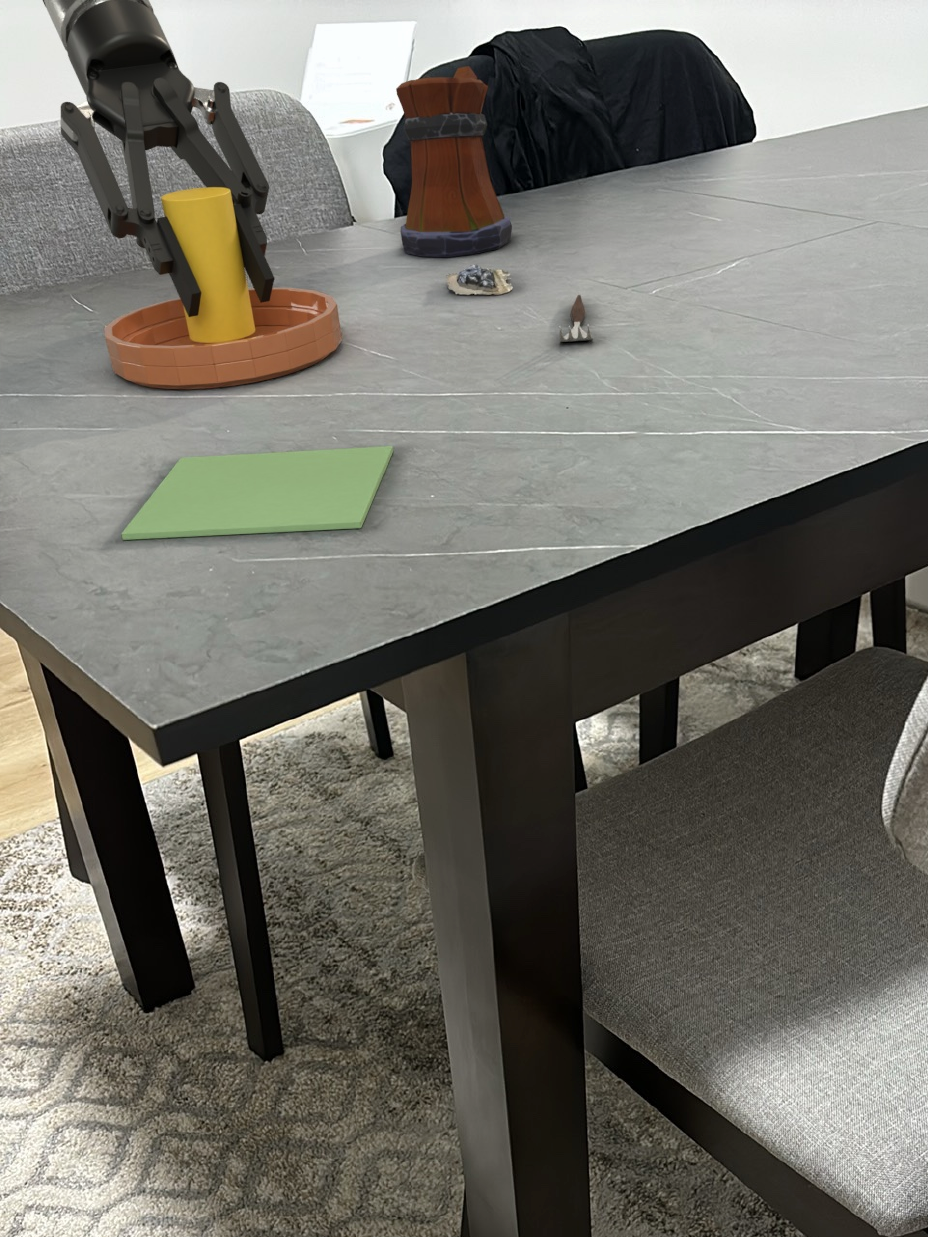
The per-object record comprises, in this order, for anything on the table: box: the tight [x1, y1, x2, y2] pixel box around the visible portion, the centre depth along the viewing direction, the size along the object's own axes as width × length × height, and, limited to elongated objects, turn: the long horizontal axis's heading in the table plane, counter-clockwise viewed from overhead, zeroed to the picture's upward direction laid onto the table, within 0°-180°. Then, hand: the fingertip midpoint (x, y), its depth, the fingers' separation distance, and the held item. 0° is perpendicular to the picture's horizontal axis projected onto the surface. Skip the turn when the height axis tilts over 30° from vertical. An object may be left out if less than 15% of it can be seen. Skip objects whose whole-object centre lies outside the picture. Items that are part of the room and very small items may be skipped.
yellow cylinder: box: [160, 186, 255, 343], centre depth 104 cm, size 5×5×10 cm
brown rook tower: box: [395, 66, 513, 258], centre depth 134 cm, size 18×12×15 cm, turn 171°
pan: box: [104, 287, 343, 390], centre depth 107 cm, size 18×18×3 cm
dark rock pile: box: [445, 263, 514, 296], centre depth 120 cm, size 7×8×2 cm
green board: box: [121, 445, 394, 541], centre depth 81 cm, size 14×13×1 cm
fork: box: [558, 294, 594, 343], centre depth 107 cm, size 3×16×2 cm, turn 177°
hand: (231, 296), depth 102 cm, fingers closed on yellow cylinder, 5 cm apart
